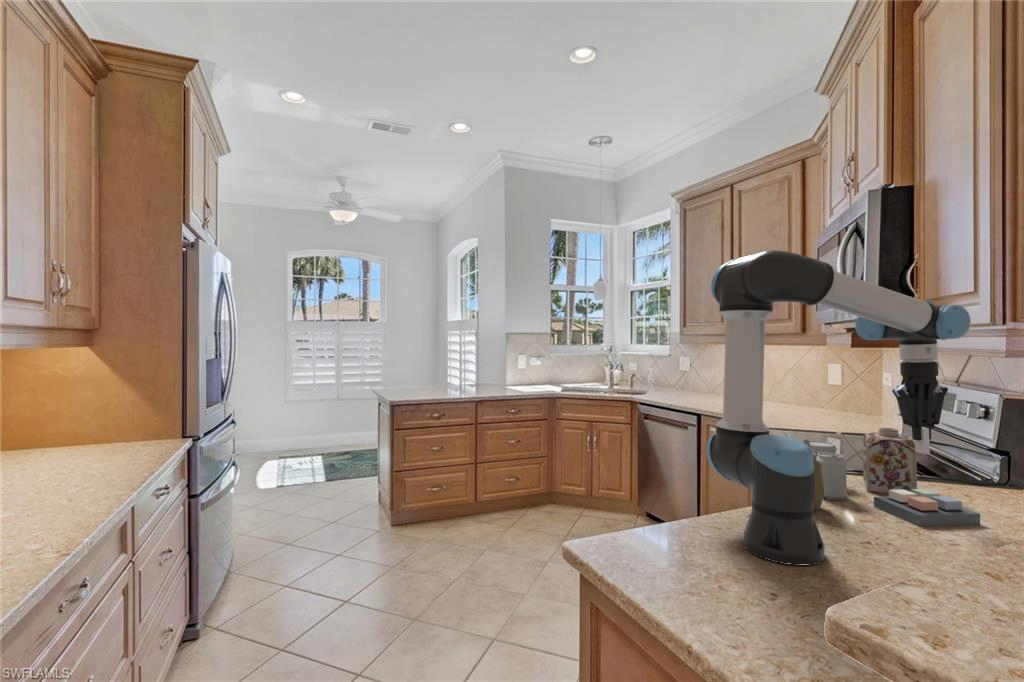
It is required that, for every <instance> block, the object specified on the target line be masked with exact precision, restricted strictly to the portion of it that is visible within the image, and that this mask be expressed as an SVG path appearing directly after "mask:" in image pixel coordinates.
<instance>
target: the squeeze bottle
mask: <svg viewBox="0 0 1024 682" xmlns="http://www.w3.org/2000/svg"><path fill="white" fill-rule="evenodd" d="M809 441H810V439H808V438H804V439H803V440H802V442H803V443H805V444H806V445H807V446H809V448H810V449H811V446H810V442H809ZM812 453H813V452H812ZM816 460H817V454H816V453H813V463H814V465H815V467H814V511H815V510H817V511H818V510H819V509H820V508H821V507H822V503H823V501H824V499H825V498H824V496H825V494H824V486H823V478H822V470H821V464H820V463H819V462H817V461H816Z"/></svg>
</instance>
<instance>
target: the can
mask: <svg viewBox="0 0 1024 682" xmlns="http://www.w3.org/2000/svg"><path fill="white" fill-rule="evenodd" d="M817 455H818V456H817V460H816V461H817V462H819V463H820V464H821V470H822V478H823V486H824V494H825V496H824V499H828V500H835V501H836V500H837V501H839V500H843V499H844V498H846V497H847V495H848V494H847V491H848V490H847V461H846V460H845V458H844V455H843V454H840V453H836V452H835V453H828V452H821V453H818V454H817Z"/></svg>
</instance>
